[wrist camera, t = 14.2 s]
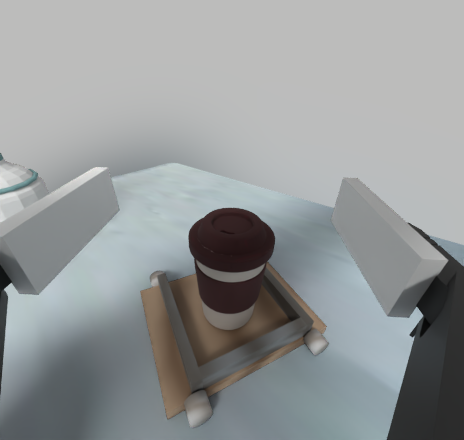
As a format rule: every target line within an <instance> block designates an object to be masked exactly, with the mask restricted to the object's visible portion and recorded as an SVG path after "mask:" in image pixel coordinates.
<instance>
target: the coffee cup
mask: <svg viewBox="0 0 464 440" xmlns="http://www.w3.org/2000/svg"><path fill="white" fill-rule="evenodd" d="M274 245H275V236H274V233H273V231H272V230H271V228H270V227H269V226H268V225H267V224H266V223H265V222H263V221H261V219H260V218H259V217H258V216H257V215H255V214H254V213H252V212H250V211H247V210H244V209H239V208H222V209H217V210H214V211H212V212H210V213H209V214H207V215H206V216H205V217H204V218H202V219H200V220H199V221H197V222H196V223H195V224H194V225H193V226H192V228H191V229H190V231H189V248H190V251H191V254H192V255H193V257H194V258H195V259H194V261H195V269H196V276H197V283H198V290H199V295H200V298H201V299H202V307H203V313H204V315H205V317H206V319H207V320H208V321H209V323H211V324H212V325H213V326H215V327H217V328H219V329H223V330H233V329H238V328H240V327H242V326H244V325H245V324H246V323H247V322H248V321H249V320H250V318H251V316H252V313H253V310H254V305H255V302H256V301H257V298H258V296H259V292H260V288H261V285H262V281H263V277H264V273H265V269H266V264H267V261H268V260H269V259H270V257H271V256H272V253H273V250H274Z"/></svg>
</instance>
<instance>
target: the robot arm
mask: <svg viewBox="0 0 464 440" xmlns="http://www.w3.org/2000/svg"><path fill="white" fill-rule="evenodd" d="M118 211H119V206H118V202H117V198H116V195H115V191H114V187H113V184H112V180H111V176H110V172H109V169H108V168H102V167H95V168H93V169H91V170H89V171H88V172H86V173H84V174H83V175H81V176H79V177H77V178H76V179H74V180H72V181H71V182H69V183H67V184H66V185H64V186H62V187H61V188H59V189H57V190H55V191H54V192H52V193H50V194H49V195H47V196H45V197H43V198H42V199H40V200H38V201H37V202H35V203H33V204H32V205H30V206H28V207H26V208H25V209H23V210H21V211H20V212H18V213H16V214H15V215H13V216H11V217H9V218H8V219H6V220H4V221H3V222H1V223H0V393H1V380H2V367H3V354H4V341H5V328H6V316H7V303H8V296H7V293H6V292H5V291H4V288H6V287H7V286H8V285H9V284H10V283H12V284H13V285H14V287H15V288H16V290H17V291H18V293H19V294H34V295H39V294H40V293H41V292H42V290H43V289H44V288H45V287H46V286H47V285H48V284H49V283H50V282H51V281H52V280H53V279H54V278H55V277H56V276H57V275H58V274H59V273H60V272H61V271H62V270H63V269H64V268H65V267H66V266H67V264H68V263H69V262H70V261H71V260H72V259H73V258H74V257H75V256H76V255H77V254H78V253H79V252H80V251H81V250H82V249H83V248H84V247H85V246H86V245H87V244H88V243H89V242H90V241H91V239H92V238H93V237H94V236H95V235H96V234H97V233H98V232H99V231H100V230H101V229H102V228H103V227H104V226H105V225H106V224H107V223H108V222H109V221H110V220H111V219H112V218H113V217H114V216H115V215H116V213H117V212H118ZM331 222H332V223H333V225H334V227H335V229H336V230H337V232H338V234H339V235H340V237H341V239H342V240H343V242H344V244H345V245H346V247H347V249H348V251H349V252H350V254H351V256H352V257H353V259H354V261H355V262H356V264H357V266H358V268H359V269H360V271H361V273H362V274H363V276H364V278H365V279H366V281H367V283H368V284H369V286H370V288H371V290H372V291H373V293H374V295H375V296H376V298H377V300H378V301H379V303H380V305H381V307H382V308H383V310H384V312H385V313H386V315H387V316H390V317H406V318H409V317H410V315H411V314H412V312H413V311H414V309H415V308H416V307H418V309H419V310H420V311H421V313H422V314H423V315H424V316H423V317H422V319H421V320H420V321H419V323H418V324H417V325H416V327H415V328H414V330H413V331H412V332H411V334H410V336H411V337H414V336H415V338H414V342H413V345H412V349H411V353H410V356H409V360H408V364H407V367H406V371H405V375H404V378H403V382H402V386H401V389H400V393H399V397H398V400H397V404H396V408H395V412H394V415H393V419H392V423H391V426H390V430H389V434H388V437H387V440H464V267H463V266H462V265H461V264H460V263H459V262H458V261H456V260H455V259H454V258H453V257H452V256H451V255H450V254H448V253H447V252H446V251H445V250H444V249H443V248H442V247H440V246H438V245H437V243H436V242H435V241H434V240H432V239H430V237H429V236H428V235H427V234H425V233H424V232H423V231H422V230H421V229H419V228H417V227H415V226H413V225H412V224H410V223H407V222H405V221H404V220H403V219H402V218H401V217H400V216H399V215H398V214H397V213H395V212H394V211H393V210H392V209H391V208H390V207H389V206H388V205H386V203H384V202H383V201H382V200H381V199H380V198H379V197H378V196H377V195H376V194H374V193H373V192H372V191H371V190H370V189H369V188H368V187H366V185H365V184H363V183H362V182H361V181H360V180H359V179H358V178H343V180H342V184H341V187H340V191H339V194H338V197H337V201H336V204H335V207H334V211H333V214H332V218H331Z"/></svg>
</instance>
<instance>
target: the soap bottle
mask: <svg viewBox="0 0 464 440" xmlns="http://www.w3.org/2000/svg"><path fill="white" fill-rule="evenodd" d="M47 195H49V192H48V190H47V187H46V185H45V182H44V181H43V180H42V178H40V177H38V173H36V172H35V171H33V170H31V169H27V168H25V167H23V166H20V165H17V164H11V163H9V162H7V161H5V160H4V159H3V157H2V155H1V153H0V223H1V222H3V221H4V220H6V219H8V218H9V217H11V216H13V215H15V214H16V213H18V212H20V211H21V210H23V209H25V208H26V207H28V206H30V205H32V204H33V203H35V202H37V201H38V200H40V199H42V198H43V197H45V196H47Z"/></svg>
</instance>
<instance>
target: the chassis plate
mask: <svg viewBox="0 0 464 440" xmlns="http://www.w3.org/2000/svg"><path fill="white" fill-rule="evenodd" d="M150 281H151V284H152V288H149V289H146V290H142V291H140V292H141V297H142V302H143V306H144V311H145V316H146V320H147V325H148V330H149V335H150V339H151V344H152V349H153V353H154V358H155V363H156V368H157V372H158V377H159V382H160V387H161V391H162V396H163V401H164V405H165V410H166V415H167V418H168V419H170V418H171V417H173V416H175V415H177V414H179V413H180V412H182V411H184V410H186V414H187V417H188V421H189V425H190V427H191V428H195V427H198V426H200V425H202V424H203V423H205V422H206V421H208V420H209V419H210V418H211V416H212V415H213V411H212V408H211V405H210V402H209V399H208V397H209V396H211V395H213V394H215V393H216V392H218V391H220V390H222V389H224V388H225V387H227V386H229V385H231V384H233V383H234V382H236V381H238V380H240V379H242V378H243V377H245V376H247V375H249V374H251V373H252V372H254V371H256V370H258V369H260V368H261V367H263V366H265V365H267V364H269V363H270V362H272V361H274V360H276V359H278V358H279V357H281V356H283V355H285V354H287V353H288V352H290V351H292V350H294V349H296V348H297V347H299V346H301V345H303V344H306V345H307V346H308V348H309V349H310V350H311V352H312V353H313V354H314V355H315V356H316V355H318V354H320V353H321V352H323V351H324V350H325V349H326V348H327V346H328V344H329V342H328V341H327V340H326V339H325V338H324V337H323V336H322V334H323V333H324V331H325V329H326V327H327V326H326V325H325V324H324V323H323V322H322V321H321V320H320V319H319V318H318V316H317V315H316V314H315V313H314V312H313V311H312V310H311V309H310V308H309V307H308V306H307V304H306V303H305V302H304V301H303V300H302V299H301V298H300V297H299V296H298V295H297V294H296V292H295V291H294V290H293V289H292V288H291V287H290V286H289V285H288V284H287V283H286V282H285V280H284V279H283V278H282V277H281V276H280V275H279V274H278V273H277V272H276V271H275V270H274V268H273V267H272V266H271V265H270V264H269V263H268V262H267V264H266V269H265V273H264V277H263V281H262V285H261V288H260V292H259V296H258V298H257V301H256V302H255V305H254V310H253V313H252V316H251V318H250V320H249V321H248V322H247V323H246V324H245V325H244V326H242V327H240V328H238V329H233V330H223V329H219V328H217V327H215V326H213V325H212V324H211V323H209V321H208V320H207V319H206V317H205V315H204V313H203V307H202V299H201V298H200V295H199V290H198V283H197V276H196V274H193V275H190V276H187V277H184V278H180V279H177V280H174V281H171V282H168V280H167V277H166V274H165V273H164V272H162V271H156V272H154V273H152V274H151V276H150Z"/></svg>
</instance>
